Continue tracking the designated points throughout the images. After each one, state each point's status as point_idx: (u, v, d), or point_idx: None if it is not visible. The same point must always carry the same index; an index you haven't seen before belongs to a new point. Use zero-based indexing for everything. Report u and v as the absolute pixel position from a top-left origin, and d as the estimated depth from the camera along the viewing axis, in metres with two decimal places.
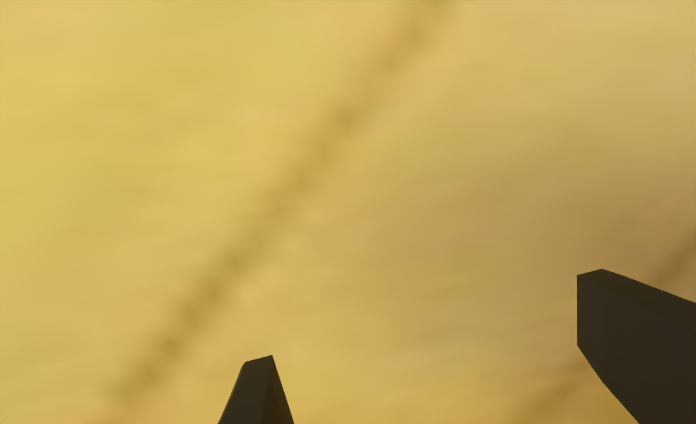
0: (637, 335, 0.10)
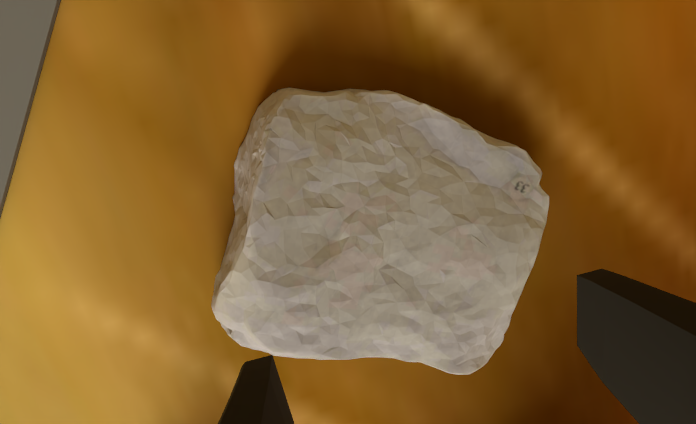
0: (637, 335, 0.10)
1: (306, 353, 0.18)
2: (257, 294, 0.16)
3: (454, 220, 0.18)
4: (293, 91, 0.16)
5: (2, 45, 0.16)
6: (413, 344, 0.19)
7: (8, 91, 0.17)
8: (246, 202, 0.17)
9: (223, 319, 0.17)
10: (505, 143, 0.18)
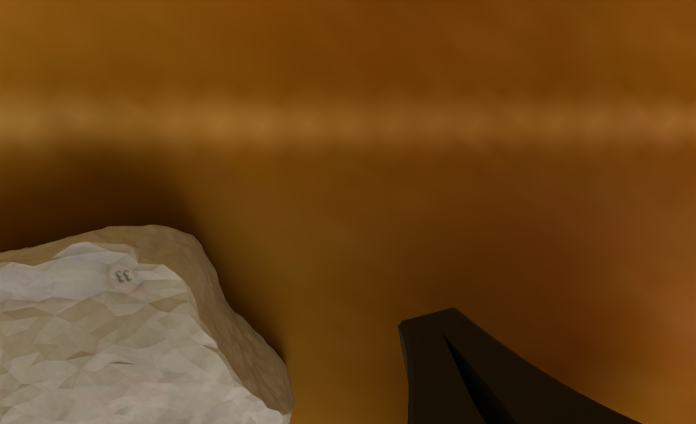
0: (464, 382, 0.09)
1: None
2: None
3: (73, 364, 0.14)
4: None
5: None
6: None
7: None
8: None
9: None
10: (63, 245, 0.13)
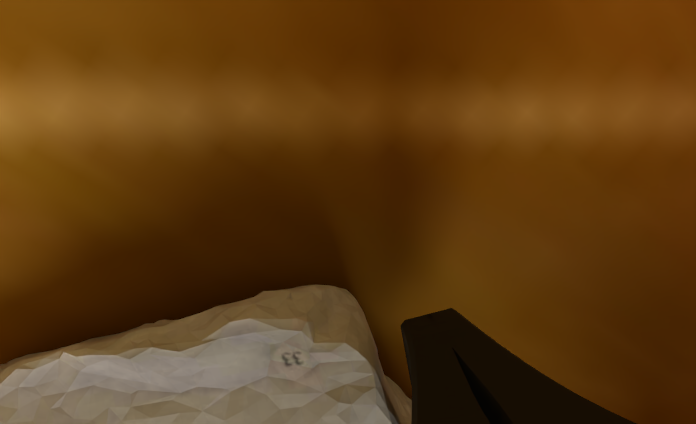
0: None
1: None
2: None
3: None
4: None
5: None
6: None
7: None
8: None
9: None
10: (215, 322, 0.10)
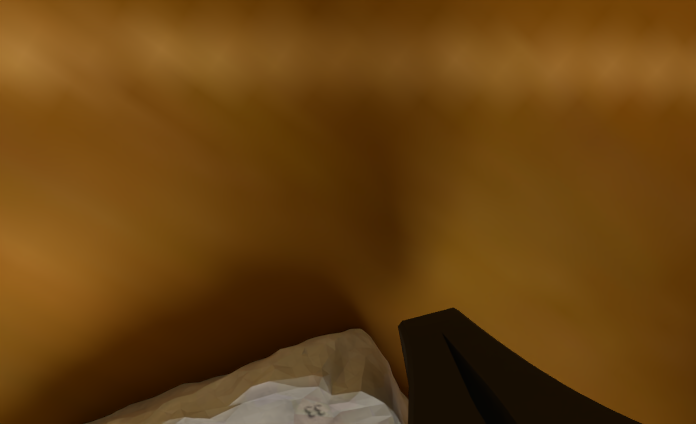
0: (464, 381, 0.09)
1: None
2: None
3: None
4: None
5: None
6: None
7: None
8: None
9: None
10: (239, 387, 0.11)
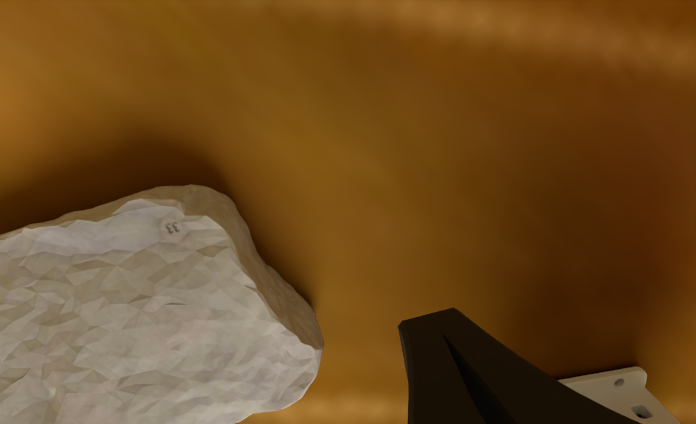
0: (463, 381, 0.09)
1: None
2: None
3: (134, 306, 0.16)
4: None
5: None
6: (223, 410, 0.18)
7: None
8: None
9: None
10: (120, 203, 0.15)
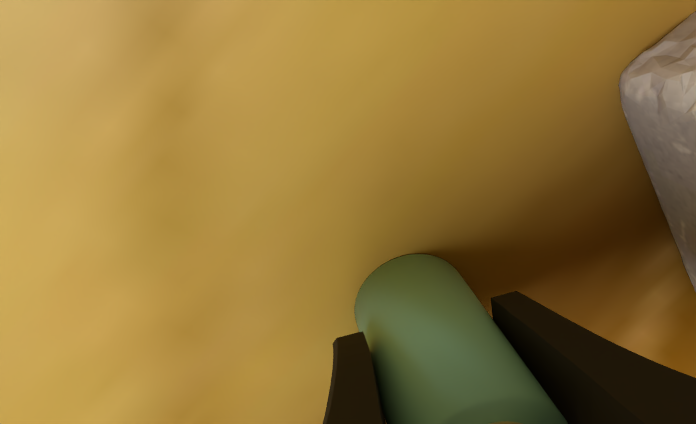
0: (537, 362, 0.10)
1: None
2: None
3: None
4: None
5: None
6: None
7: None
8: None
9: None
10: None
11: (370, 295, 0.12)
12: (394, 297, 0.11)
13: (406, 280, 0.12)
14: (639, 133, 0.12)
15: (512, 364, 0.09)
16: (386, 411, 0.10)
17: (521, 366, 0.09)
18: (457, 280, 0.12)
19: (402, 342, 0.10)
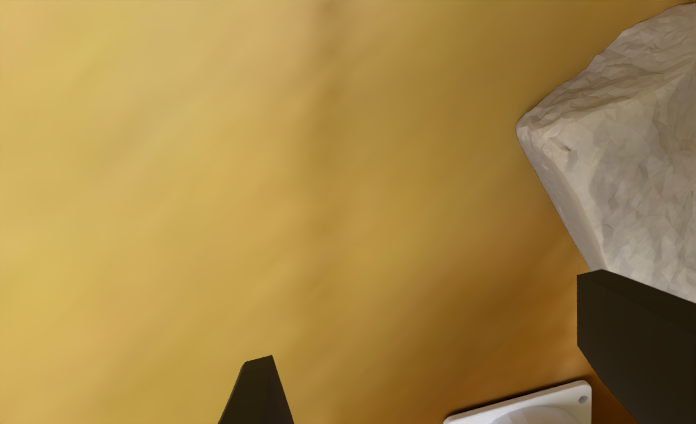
0: (637, 335, 0.10)
1: (598, 213, 0.18)
2: (639, 132, 0.17)
3: None
4: None
5: None
6: (639, 271, 0.21)
7: None
8: (652, 61, 0.18)
9: (579, 134, 0.17)
10: None
11: None
12: None
13: None
14: (528, 157, 0.21)
15: None
16: None
17: None
18: None
19: None
